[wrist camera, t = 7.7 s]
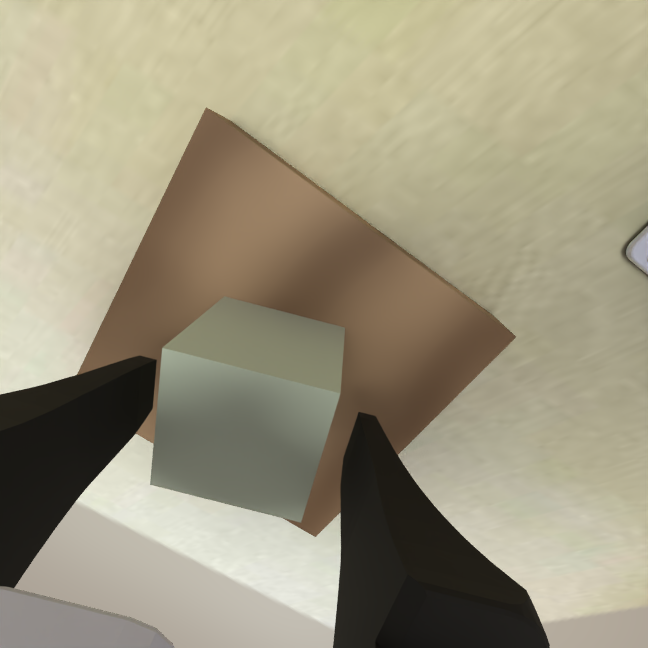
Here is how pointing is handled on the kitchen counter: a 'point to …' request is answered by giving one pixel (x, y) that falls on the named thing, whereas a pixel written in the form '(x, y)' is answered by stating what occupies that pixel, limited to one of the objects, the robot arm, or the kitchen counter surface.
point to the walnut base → (298, 292)
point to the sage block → (247, 407)
